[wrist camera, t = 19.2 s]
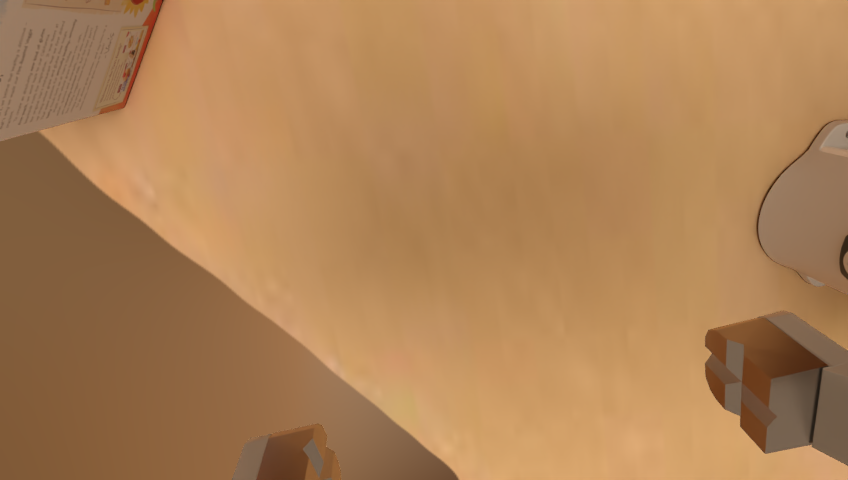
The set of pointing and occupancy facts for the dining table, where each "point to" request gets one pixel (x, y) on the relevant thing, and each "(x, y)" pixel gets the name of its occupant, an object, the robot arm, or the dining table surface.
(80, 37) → the cracker box
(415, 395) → the dining table surface
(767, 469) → the dining table surface
